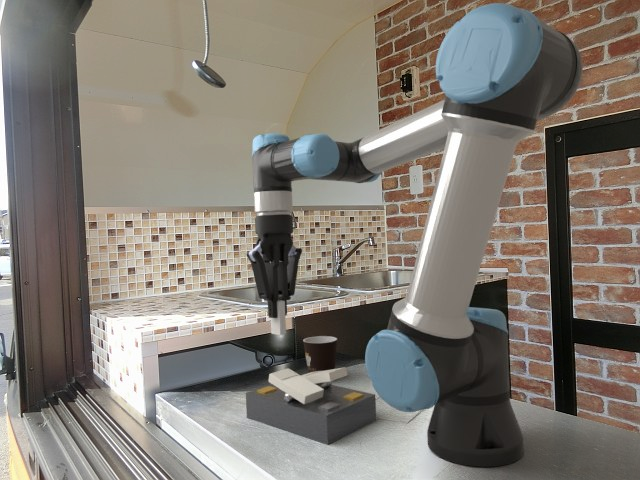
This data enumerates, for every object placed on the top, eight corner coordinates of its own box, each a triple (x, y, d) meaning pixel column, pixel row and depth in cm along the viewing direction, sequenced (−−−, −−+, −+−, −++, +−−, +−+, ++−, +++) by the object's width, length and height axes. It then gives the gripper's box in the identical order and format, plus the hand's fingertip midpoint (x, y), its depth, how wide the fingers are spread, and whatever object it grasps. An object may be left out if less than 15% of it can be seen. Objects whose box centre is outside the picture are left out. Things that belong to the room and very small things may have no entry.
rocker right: (347, 375, 99) (345, 366, 99) (330, 381, 95) (328, 372, 95) (312, 380, 105) (311, 372, 106) (296, 386, 102) (294, 377, 102)
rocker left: (322, 397, 94) (324, 388, 94) (304, 404, 90) (305, 395, 90) (287, 375, 100) (288, 367, 100) (268, 381, 97) (269, 373, 96)
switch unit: (376, 420, 95) (374, 386, 95) (327, 444, 85) (326, 407, 85) (296, 399, 110) (295, 369, 110) (246, 417, 100) (245, 385, 100)
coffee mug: (339, 383, 121) (337, 342, 121) (304, 384, 121) (302, 343, 121) (338, 370, 133) (336, 333, 133) (306, 371, 133) (304, 334, 133)
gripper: (285, 215, 105) (289, 326, 105) (235, 215, 96) (240, 337, 96) (310, 213, 100) (314, 330, 100) (260, 213, 91) (266, 341, 91)
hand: (278, 333), depth 98 cm, fingers closed
